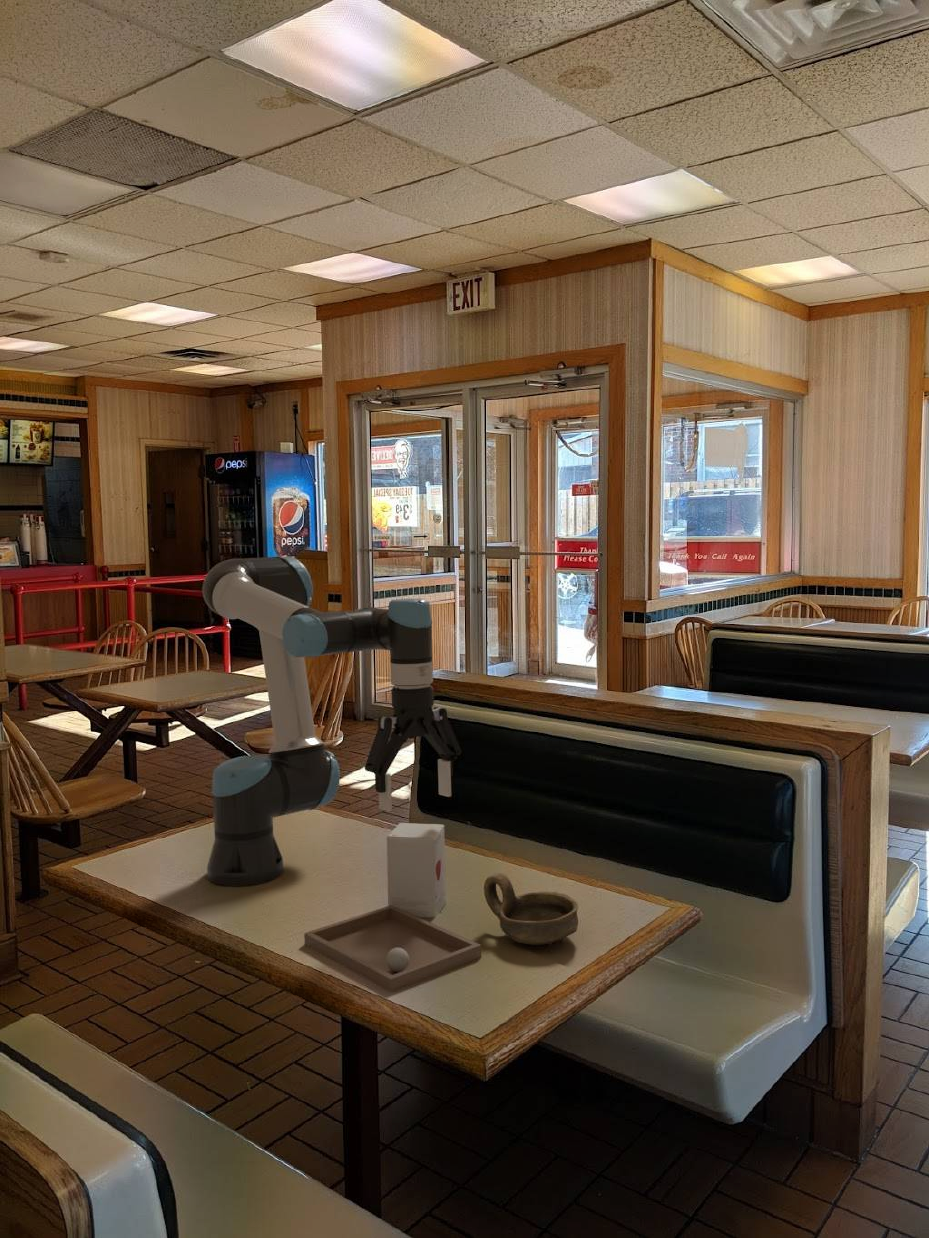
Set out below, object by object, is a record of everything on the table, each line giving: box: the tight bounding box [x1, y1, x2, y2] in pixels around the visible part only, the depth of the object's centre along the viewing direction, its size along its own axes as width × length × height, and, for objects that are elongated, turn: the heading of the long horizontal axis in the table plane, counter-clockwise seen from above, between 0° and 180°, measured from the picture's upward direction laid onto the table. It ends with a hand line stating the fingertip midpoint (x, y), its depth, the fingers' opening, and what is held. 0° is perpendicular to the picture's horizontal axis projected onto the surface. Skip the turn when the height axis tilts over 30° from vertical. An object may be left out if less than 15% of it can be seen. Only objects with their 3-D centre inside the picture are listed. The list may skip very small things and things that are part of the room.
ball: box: [386, 948, 409, 972], centre depth 157 cm, size 4×4×4 cm
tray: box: [303, 905, 483, 993], centre depth 165 cm, size 24×18×2 cm
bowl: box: [483, 872, 579, 946], centre depth 170 cm, size 14×18×10 cm
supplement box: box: [386, 822, 447, 918], centre depth 183 cm, size 9×9×15 cm
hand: (416, 802), depth 182 cm, fingers open, 13 cm apart
